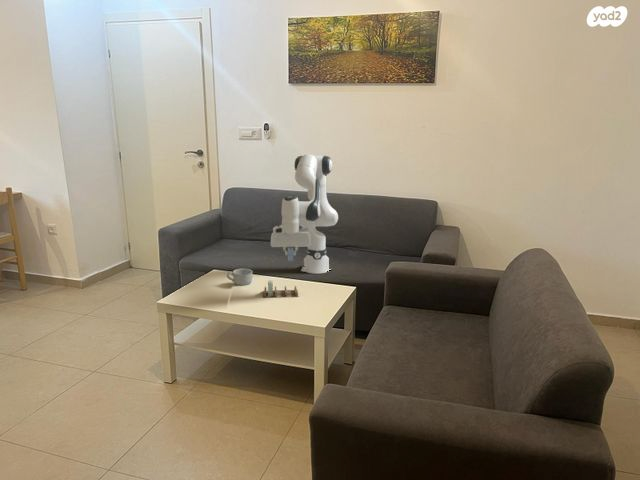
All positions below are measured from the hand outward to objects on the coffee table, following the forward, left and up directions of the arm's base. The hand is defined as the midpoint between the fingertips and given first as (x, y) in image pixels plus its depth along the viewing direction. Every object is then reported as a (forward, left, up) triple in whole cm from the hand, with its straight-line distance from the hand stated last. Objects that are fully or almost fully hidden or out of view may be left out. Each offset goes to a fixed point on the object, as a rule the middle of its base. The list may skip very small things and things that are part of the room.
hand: (290, 255), depth 237 cm
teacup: (-21, -27, -22) cm, 41 cm away
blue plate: (0, 0, -2) cm, 2 cm away
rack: (0, -5, -21) cm, 22 cm away
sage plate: (0, -10, -20) cm, 23 cm away
